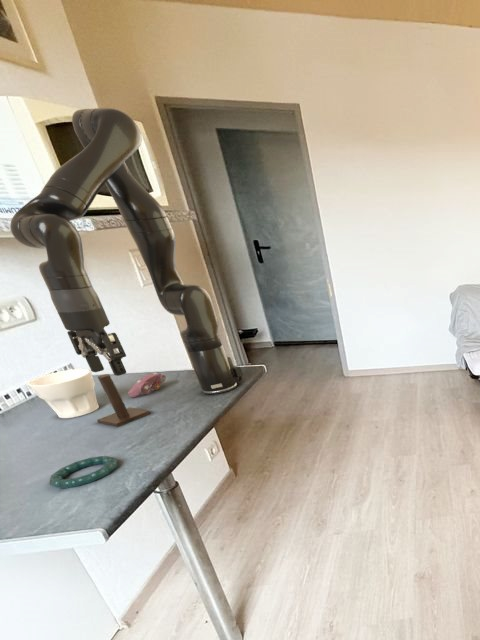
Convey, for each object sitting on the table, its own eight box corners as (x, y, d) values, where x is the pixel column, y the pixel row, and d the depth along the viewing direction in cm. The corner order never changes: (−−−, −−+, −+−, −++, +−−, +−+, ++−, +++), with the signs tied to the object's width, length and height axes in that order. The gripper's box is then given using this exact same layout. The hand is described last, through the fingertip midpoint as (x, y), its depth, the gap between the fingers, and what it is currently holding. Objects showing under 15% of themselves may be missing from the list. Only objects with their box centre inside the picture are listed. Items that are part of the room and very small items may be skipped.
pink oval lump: (141, 402, 129) (143, 384, 126) (126, 396, 128) (127, 378, 126) (167, 389, 138) (169, 372, 135) (153, 384, 137) (154, 366, 135)
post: (131, 410, 121) (111, 369, 115) (150, 413, 119) (130, 371, 113) (98, 422, 114) (75, 379, 109) (117, 426, 112) (95, 383, 106)
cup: (94, 417, 117) (75, 381, 113) (37, 425, 113) (14, 388, 109) (116, 399, 128) (99, 366, 123) (64, 406, 124) (45, 372, 119)
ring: (99, 458, 98) (95, 451, 97) (129, 465, 95) (126, 458, 94) (40, 484, 89) (35, 477, 88) (71, 493, 86) (67, 486, 85)
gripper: (119, 306, 97) (146, 370, 104) (80, 303, 101) (108, 365, 108) (78, 312, 91) (110, 381, 97) (39, 309, 95) (72, 375, 101)
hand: (109, 372), depth 103 cm, fingers open, 8 cm apart
